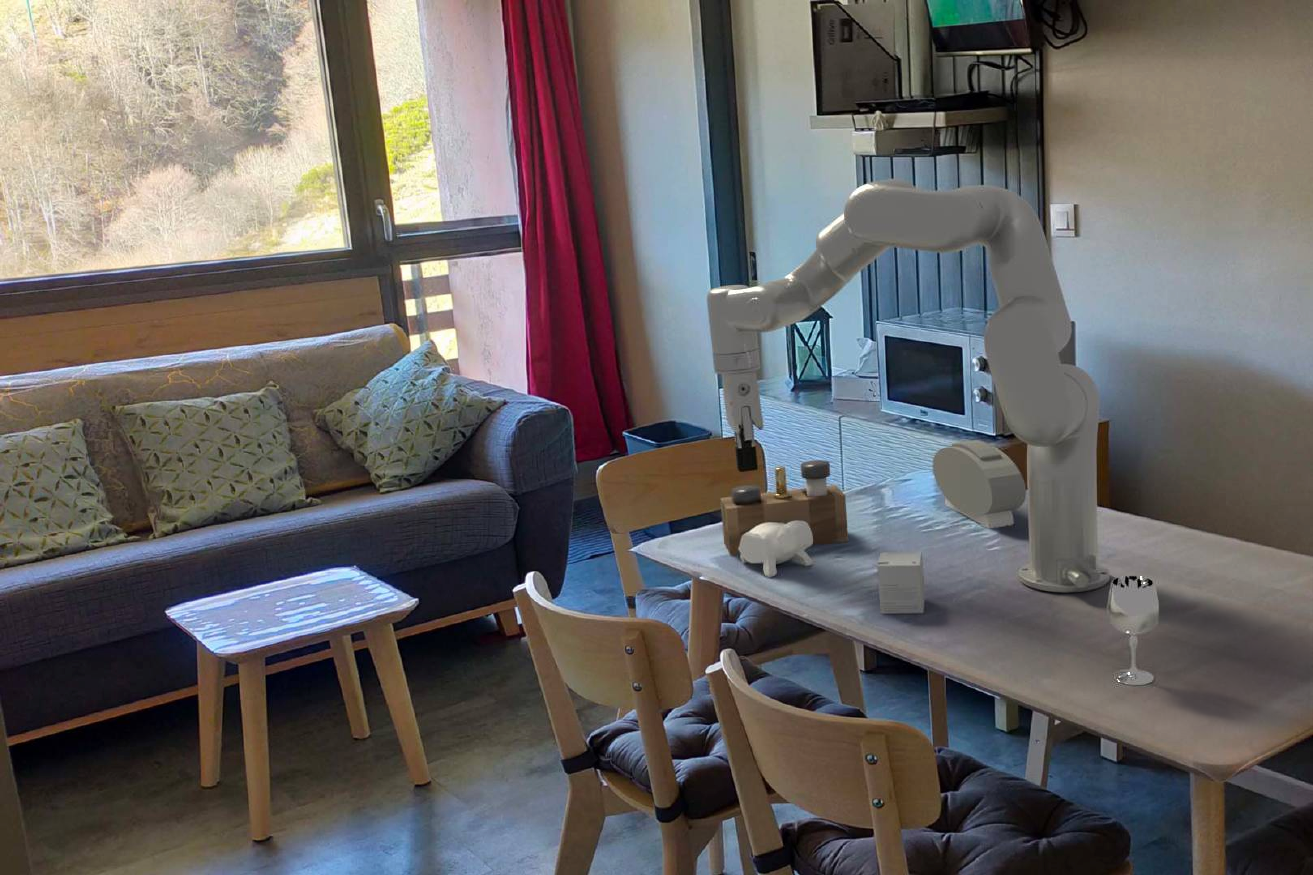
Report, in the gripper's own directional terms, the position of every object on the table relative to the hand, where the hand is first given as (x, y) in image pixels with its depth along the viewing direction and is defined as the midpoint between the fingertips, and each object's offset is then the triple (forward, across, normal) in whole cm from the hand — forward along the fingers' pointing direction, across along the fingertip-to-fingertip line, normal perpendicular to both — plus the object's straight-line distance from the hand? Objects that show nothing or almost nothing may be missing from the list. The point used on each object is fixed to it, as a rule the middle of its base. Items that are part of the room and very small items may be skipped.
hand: (747, 469), depth 213 cm
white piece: (+14, -12, -2) cm, 19 cm away
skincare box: (+15, -35, -15) cm, 41 cm away
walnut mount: (+13, +1, -5) cm, 14 cm away
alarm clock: (+14, +4, -40) cm, 43 cm away
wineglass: (+15, -67, -34) cm, 77 cm away
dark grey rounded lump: (+12, +1, +1) cm, 12 cm away
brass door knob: (+6, 0, -5) cm, 8 cm away
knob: (+10, +1, -11) cm, 15 cm away
